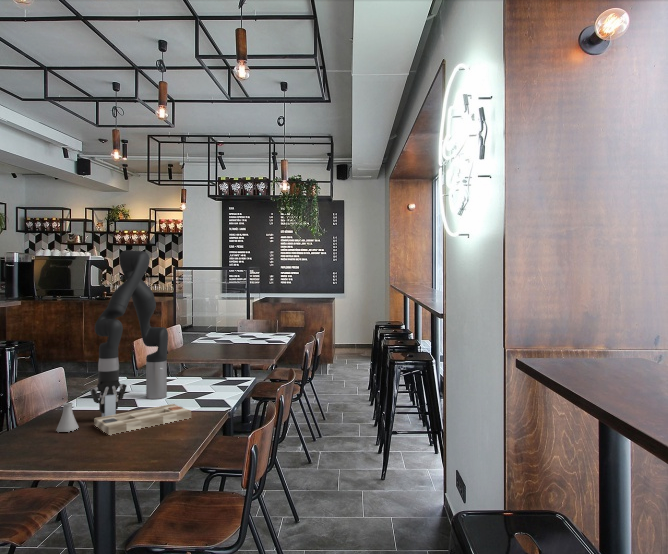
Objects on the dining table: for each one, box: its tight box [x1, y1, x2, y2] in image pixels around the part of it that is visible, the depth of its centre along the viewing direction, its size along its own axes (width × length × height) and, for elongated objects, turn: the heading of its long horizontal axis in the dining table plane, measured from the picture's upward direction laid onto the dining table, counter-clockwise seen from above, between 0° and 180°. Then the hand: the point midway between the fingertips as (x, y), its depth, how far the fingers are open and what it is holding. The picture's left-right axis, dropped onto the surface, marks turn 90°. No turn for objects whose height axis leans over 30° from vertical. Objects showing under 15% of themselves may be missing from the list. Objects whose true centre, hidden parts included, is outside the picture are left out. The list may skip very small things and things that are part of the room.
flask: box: [55, 402, 80, 433], centre depth 184 cm, size 7×7×10 cm
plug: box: [101, 394, 117, 417], centre depth 198 cm, size 4×4×10 cm
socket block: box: [93, 403, 192, 436], centre depth 194 cm, size 16×32×3 cm, turn 133°
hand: (108, 411), depth 198 cm, fingers closed on plug, 4 cm apart
